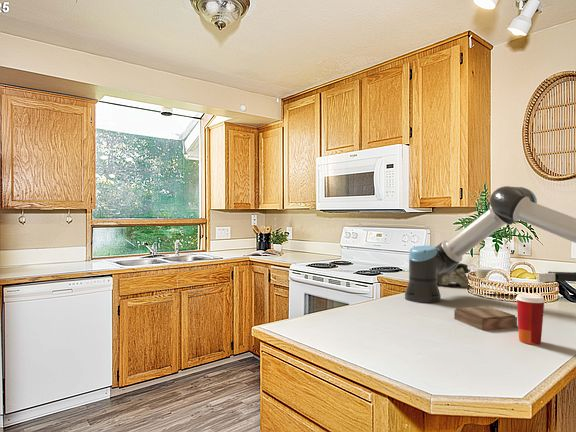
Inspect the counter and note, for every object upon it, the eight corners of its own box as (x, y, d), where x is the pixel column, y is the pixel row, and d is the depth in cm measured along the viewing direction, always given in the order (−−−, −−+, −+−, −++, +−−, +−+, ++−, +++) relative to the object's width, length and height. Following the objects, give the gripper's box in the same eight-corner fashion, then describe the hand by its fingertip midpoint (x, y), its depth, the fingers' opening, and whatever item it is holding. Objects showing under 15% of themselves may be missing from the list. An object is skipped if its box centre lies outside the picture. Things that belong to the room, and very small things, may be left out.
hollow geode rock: (414, 291, 215) (412, 274, 206) (415, 273, 224) (413, 255, 214) (471, 294, 205) (472, 276, 195) (470, 274, 213) (470, 256, 204)
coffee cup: (492, 291, 194) (492, 267, 194) (500, 295, 184) (500, 270, 184) (472, 291, 195) (472, 266, 194) (479, 295, 185) (479, 269, 185)
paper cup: (542, 339, 122) (543, 294, 121) (546, 347, 115) (547, 299, 114) (513, 336, 125) (514, 292, 125) (515, 343, 118) (516, 296, 118)
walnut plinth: (482, 330, 131) (482, 318, 131) (454, 318, 145) (454, 307, 145) (516, 327, 135) (517, 315, 134) (486, 316, 148) (486, 305, 148)
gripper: (654, 298, 115) (597, 302, 110) (573, 283, 139) (523, 286, 134) (654, 272, 115) (598, 275, 110) (573, 262, 139) (523, 264, 134)
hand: (557, 281), depth 122 cm, fingers open, 13 cm apart
